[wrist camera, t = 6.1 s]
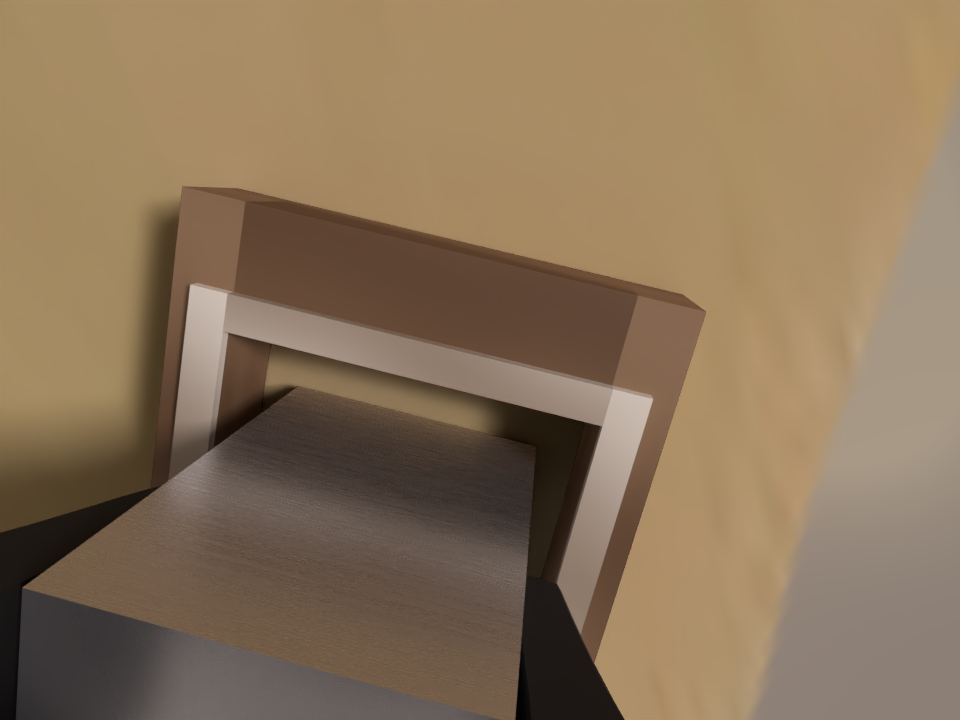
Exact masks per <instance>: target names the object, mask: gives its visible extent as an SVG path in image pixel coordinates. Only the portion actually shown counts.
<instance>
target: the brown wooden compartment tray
mask: <svg viewBox="0 0 960 720" xmlns="http://www.w3.org/2000/svg"><path fill="white" fill-rule="evenodd" d="M705 315H706V311H704V310H703V309H702V308H700V307H699V306H698V305H696V304H695V303H694V302H692V301H691V300H689V299H688V298H687V297H685V296H684V295H682V294H678V293H674V292H670V291H665V290H661V289H657V288H653V287H649V286H644V285H640V284H636V283H632V282H628V281H623V280H619V279H615V278H611V277H607V276H602V275H598V274H594V273H590V272H586V271H582V270H577V269H573V268H569V267H565V266H561V265H556V264H552V263H548V262H544V261H540V260H535V259H531V258H527V257H523V256H519V255H514V254H510V253H506V252H502V251H498V250H494V249H489V248H485V247H481V246H477V245H473V244H468V243H464V242H460V241H456V240H452V239H447V238H443V237H439V236H435V235H431V234H426V233H422V232H418V231H414V230H410V229H406V228H401V227H397V226H393V225H389V224H385V223H380V222H376V221H372V220H368V219H364V218H359V217H355V216H351V215H347V214H343V213H338V212H334V211H330V210H326V209H322V208H318V207H313V206H309V205H305V204H301V203H297V202H292V201H288V200H284V199H280V198H276V197H271V196H267V195H263V194H259V193H255V192H250V191H246V190H242V189H238V188H211V187H185V186H182V194H181V204H180V213H179V223H178V232H177V242H176V252H175V261H174V271H173V280H172V290H171V299H170V309H169V319H168V328H167V338H166V347H165V357H164V367H163V376H162V386H161V395H160V405H159V414H158V424H157V434H156V443H155V453H154V462H153V472H152V481H151V488H155V487H158V486H162V485H164V484H165V483H166V482H168V481H169V480H170V479H172V478H173V477H175V476H176V475H177V474H179V473H180V472H181V471H183V470H184V469H186V468H187V467H188V466H190V465H191V464H192V463H194V462H195V461H197V460H198V459H199V458H201V457H202V456H203V455H205V454H206V453H207V452H209V451H210V450H212V449H213V448H214V447H216V446H217V445H218V444H220V443H221V442H223V441H224V440H225V439H227V438H228V437H229V436H231V435H232V434H233V433H235V432H236V431H238V430H239V429H240V428H242V427H243V426H244V425H246V424H247V423H249V422H250V421H251V420H253V419H254V418H255V417H257V416H258V415H259V414H261V407H262V400H263V394H264V387H265V380H266V373H267V366H268V360H269V353H270V346H271V343H272V344H276V345H280V346H284V347H288V348H292V349H296V350H300V351H304V352H308V353H312V354H316V355H320V356H324V357H328V358H332V359H335V360H339V361H343V362H347V363H351V364H355V365H359V366H363V367H367V368H371V369H375V370H379V371H383V372H387V373H391V374H395V375H399V376H403V377H407V378H411V379H415V380H419V381H423V382H427V383H431V384H435V385H439V386H443V387H447V388H451V389H455V390H459V391H463V392H467V393H471V394H475V395H479V396H483V397H487V398H491V399H495V400H499V401H503V402H507V403H511V404H515V405H519V406H523V407H527V408H531V409H535V410H539V411H543V412H547V413H551V414H555V415H559V416H563V417H567V418H571V419H575V420H579V421H583V422H585V425H584V429H583V433H582V436H581V440H580V443H579V447H578V450H577V454H576V457H575V461H574V464H573V468H572V471H571V475H570V478H569V482H568V485H567V489H566V492H565V496H564V500H563V503H562V507H561V510H560V514H559V517H558V521H557V524H556V528H555V531H554V535H553V538H552V542H551V545H550V549H549V552H548V556H547V559H546V563H545V566H544V570H543V574H542V577H541V579H543V580H546V581H550V582H554V583H557V585H558V586H559V588H560V590H561V592H562V594H563V596H564V599H565V601H566V603H567V606H568V608H569V610H570V613H571V615H572V617H573V619H574V622H575V624H576V626H577V628H578V631H579V633H580V635H581V637H582V639H583V641H584V643H585V646H586V648H587V650H588V652H589V654H590V656H591V658H592V660H593V662H595V659H596V656H597V652H598V649H599V646H600V643H601V640H602V637H603V634H604V631H605V627H606V624H607V621H608V618H609V615H610V612H611V609H612V606H613V602H614V599H615V596H616V593H617V590H618V587H619V584H620V580H621V577H622V574H623V571H624V568H625V565H626V562H627V559H628V555H629V552H630V549H631V546H632V543H633V540H634V537H635V534H636V530H637V527H638V524H639V521H640V518H641V515H642V512H643V509H644V505H645V502H646V499H647V496H648V493H649V490H650V487H651V483H652V480H653V477H654V474H655V471H656V468H657V465H658V462H659V458H660V455H661V452H662V449H663V446H664V443H665V440H666V437H667V433H668V430H669V427H670V424H671V421H672V418H673V415H674V412H675V408H676V405H677V402H678V399H679V396H680V393H681V390H682V386H683V383H684V380H685V377H686V374H687V371H688V368H689V365H690V361H691V358H692V355H693V352H694V349H695V346H696V343H697V340H698V336H699V333H700V330H701V327H702V324H703V321H704V318H705Z"/></svg>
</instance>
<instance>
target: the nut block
mask: <svg viewBox="0 0 960 720" xmlns="http://www.w3.org/2000/svg"><path fill="white" fill-rule="evenodd" d="M535 456H536V446H532V445H528V444H524V443H520V442H516V441H512V440H508V439H504V438H500V437H497V436H493V435H489V434H485V433H481V432H477V431H473V430H469V429H465V428H461V427H457V426H453V425H449V424H445V423H441V422H437V421H433V420H429V419H425V418H422V417H418V416H414V415H410V414H406V413H402V412H398V411H394V410H390V409H386V408H382V407H378V406H374V405H370V404H366V403H362V402H358V401H354V400H350V399H347V398H343V397H339V396H335V395H331V394H327V393H323V392H319V391H315V390H311V389H307V388H303V387H299V386H298V387H296V388H295V389H294V390H292V391H291V392H290V393H288V394H287V395H286V396H284V397H283V398H281V399H280V400H279V401H277V402H276V403H275V404H273V405H272V406H270V407H269V408H268V409H266V410H265V411H264V412H262V413H261V414H259V415H258V416H257V417H255V418H254V419H253V420H251V421H250V422H249V423H247V424H246V425H244V426H243V427H242V428H240V429H239V430H238V431H236V432H235V433H233V434H232V435H231V436H229V437H228V438H227V439H225V440H224V441H223V442H221V443H220V444H218V445H217V446H216V447H214V448H213V449H212V450H210V451H209V452H207V453H206V454H205V455H203V456H202V457H201V458H199V459H198V460H197V461H195V462H194V463H192V464H191V465H190V466H188V467H187V468H186V469H184V470H183V471H181V472H180V473H179V474H177V475H176V476H175V477H173V478H172V479H170V480H169V481H168V482H166V483H165V484H164V485H162V486H161V487H160V488H158V489H157V490H155V491H154V492H153V493H151V494H150V495H149V496H147V497H146V498H144V499H143V500H142V501H140V502H139V503H138V504H136V505H135V506H134V507H132V508H131V509H129V510H128V511H127V512H125V513H124V514H123V515H121V516H120V517H118V518H117V519H116V520H114V521H113V522H112V523H110V524H109V525H108V526H106V527H105V528H103V529H102V530H101V531H99V532H98V533H97V534H95V535H94V536H92V537H91V538H90V539H88V540H87V541H86V542H84V543H83V544H81V545H80V546H79V547H77V548H76V549H75V550H73V551H72V552H71V553H69V554H68V555H66V556H65V557H64V558H62V559H61V560H60V561H58V562H57V563H55V564H54V565H53V566H51V567H50V568H49V569H47V570H46V571H45V572H43V573H42V574H40V575H39V576H38V577H36V578H35V579H34V580H32V581H31V582H29V583H28V584H27V585H25V586H24V587H23V588H22V603H21V624H20V644H19V665H18V686H17V706H16V720H515V716H516V703H517V690H518V677H519V664H520V651H521V638H522V625H523V612H524V599H525V586H526V573H527V560H528V547H529V534H530V521H531V508H532V495H533V482H534V469H535Z"/></svg>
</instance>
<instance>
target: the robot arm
mask: <svg viewBox="0 0 960 720" xmlns="http://www.w3.org/2000/svg"><path fill="white" fill-rule="evenodd" d="M160 487H161V486H158V487H155V488H151V489H147V490H144V491H140V492H137V493H133V494H130V495H126V496H123V497H120V498H116V499H113V500H110V501H107V502H103V503H100V504H97V505H94V506H90V507H87V508H84V509H81V510H77V511H74V512H71V513H67V514H64V515H61V516H57V517H54V518H51V519H48V520H44V521H41V522H38V523H34V524H31V525H27V526H24V527H20V528H16V529H13V530H9V531H5V532H2V533H0V720H16V706H17V686H18V665H19V644H20V624H21V603H22V588H23V587H24V586H25V585H27V584H28V583H29V582H31V581H32V580H34V579H35V578H36V577H38V576H39V575H40V574H42V573H43V572H45V571H46V570H47V569H49V568H50V567H51V566H53V565H54V564H55V563H57V562H58V561H60V560H61V559H62V558H64V557H65V556H66V555H68V554H69V553H71V552H72V551H73V550H75V549H76V548H77V547H79V546H80V545H81V544H83V543H84V542H86V541H87V540H88V539H90V538H91V537H92V536H94V535H95V534H97V533H98V532H99V531H101V530H102V529H103V528H105V527H106V526H108V525H109V524H110V523H112V522H113V521H114V520H116V519H117V518H118V517H120V516H121V515H123V514H124V513H125V512H127V511H128V510H129V509H131V508H132V507H134V506H135V505H136V504H138V503H139V502H140V501H142V500H143V499H144V498H146V497H147V496H149V495H150V494H151V493H153V492H154V491H155V490H157V489H158V488H160ZM515 720H624V718H623V716H622V714H621V713H620V711H619V709H618V707H617V706H616V704H615V702H614V700H613V698H612V696H611V694H610V693H609V691H608V689H607V687H606V685H605V683H604V681H603V679H602V677H601V675H600V674H599V672H598V670H597V668H596V666H595V664H594V662H593V660H592V658H591V656H590V654H589V652H588V650H587V648H586V646H585V643H584V641H583V639H582V637H581V635H580V633H579V631H578V628H577V626H576V624H575V622H574V619H573V617H572V615H571V613H570V610H569V608H568V606H567V603H566V601H565V599H564V596H563V594H562V592H561V590H560V588H559V586H558V585H557V583H554V582H550V581H546V580H543V579H539V578H535V577H531V576H527V575H526V586H525V599H524V612H523V625H522V638H521V651H520V664H519V677H518V690H517V703H516V716H515Z"/></svg>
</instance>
